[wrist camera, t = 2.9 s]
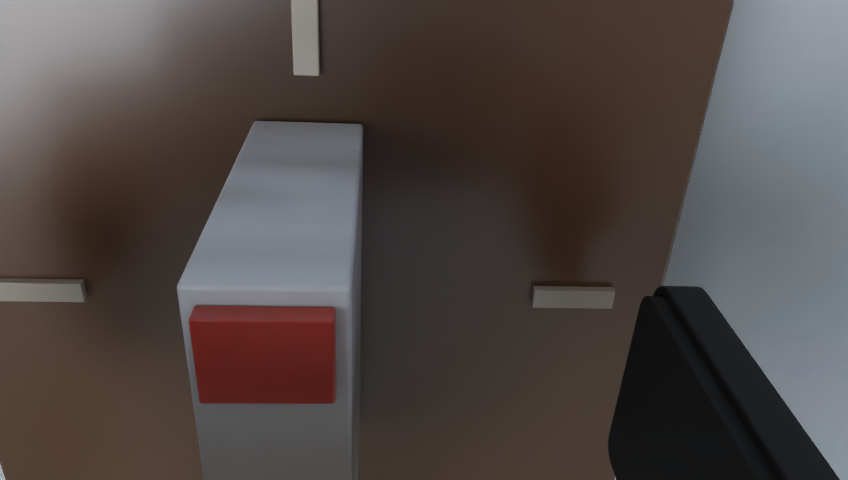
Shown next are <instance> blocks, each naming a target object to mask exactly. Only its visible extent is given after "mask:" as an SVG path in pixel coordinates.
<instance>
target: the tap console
mask: <svg viewBox="0 0 848 480" xmlns="http://www.w3.org/2000/svg"><path fill="white" fill-rule="evenodd" d="M733 3H734V0H0V463H1V466H2V470H3V473H4V476H5V479H6V480H203V473H202V466H201V459H200V452H199V445H198V437H197V430H196V423H195V416H194V409H193V401H192V394H191V387H190V380H189V373H188V366H187V358H186V351H185V344H184V337H183V330H182V322H181V315H180V308H179V301H178V294H177V285H178V283H179V280H180V278H181V276H182V274H183V272H184V270H185V268H186V265H187V263H188V261H189V259H190V257H191V255H192V253H193V251H194V248H195V246H196V244H197V242H198V240H199V238H200V236H201V233H202V231H203V229H204V227H205V225H206V223H207V221H208V219H209V216H210V214H211V212H212V210H213V208H214V206H215V204H216V201H217V199H218V197H219V195H220V193H221V191H222V189H223V187H224V184H225V182H226V180H227V178H228V176H229V174H230V172H231V169H232V167H233V165H234V163H235V161H236V159H237V157H238V155H239V152H240V150H241V148H242V146H243V144H244V142H245V140H246V138H247V135H248V133H249V131H250V129H251V127H252V125H253V123H254V122H255V121H276V122H310V123H343V124H360V125H362V127H363V187H362V294H361V401H360V448H359V475H358V480H614V478H615V474H614V471H613V469H612V466H611V463H610V459H609V453H608V437H609V432H610V428H611V424H612V420H613V416H614V411H615V407H616V403H617V399H618V395H619V391H620V386H621V382H622V378H623V374H624V370H625V365H626V361H627V357H628V353H629V349H630V345H631V340H632V336H633V332H634V328H635V324H636V320H637V315H638V311H639V307H640V304H641V301H642V299H643V298H644V297H645V296H653V294H654V292H655V290H656V289H657V288H658V287H660V286H663V282H664V278H665V274H666V270H667V266H668V262H669V258H670V254H671V250H672V246H673V242H674V238H675V234H676V230H677V226H678V222H679V218H680V214H681V210H682V206H683V202H684V198H685V194H686V191H687V187H688V183H689V179H690V175H691V171H692V167H693V163H694V159H695V155H696V151H697V147H698V143H699V139H700V135H701V131H702V127H703V123H704V119H705V115H706V111H707V107H708V103H709V99H710V95H711V91H712V87H713V83H714V79H715V75H716V71H717V67H718V63H719V59H720V55H721V51H722V47H723V43H724V39H725V35H726V31H727V27H728V23H729V19H730V15H731V11H732V7H733Z"/></svg>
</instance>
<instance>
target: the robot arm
mask: <svg viewBox="0 0 848 480" xmlns="http://www.w3.org/2000/svg"><path fill="white" fill-rule="evenodd" d="M608 453H609V459H610V463H611V466H612V469H613V471H614V474H615V477H616V480H840V479H839V478H838V476H837V475H836V474H835V472H834V471H833V469H832V468H831V467H830V465H829V464H828V462H827V461H826V460H825V458H824V457H823V455H822V454H821V453H820V451H819V450H818V448H817V447H816V446H815V444H814V443H813V441H812V440H811V439H810V437H809V436H808V434H807V433H806V432H805V430H804V429H803V427H802V426H801V425H800V423H799V422H798V420H797V419H796V418H795V416H794V415H793V413H792V412H791V411H790V409H789V408H788V406H787V405H786V404H785V402H784V401H783V399H782V398H781V396H780V395H779V394H778V392H777V391H776V389H775V388H774V387H773V385H772V384H771V382H770V381H769V380H768V378H767V377H766V375H765V374H764V373H763V371H762V370H761V368H760V367H759V366H758V364H757V363H756V361H755V360H754V359H753V357H752V356H751V354H750V353H749V352H748V350H747V349H746V347H745V346H744V345H743V343H742V342H741V340H740V339H739V338H738V336H737V335H736V333H735V332H734V331H733V329H732V328H731V326H730V325H729V324H728V322H727V321H726V319H725V318H724V317H723V315H722V314H721V312H720V311H719V309H718V308H717V307H716V305H715V304H714V302H713V301H712V300H711V298H710V297H709V295H708V294H707V293H706V291H705V290H704V289H703V288H701V287H686V286H660V287H658V288H657V289H656V290H655V292H654V294H653V296H645V297H644V298H643V299H642V301H641V304H640V307H639V311H638V315H637V320H636V324H635V328H634V332H633V336H632V340H631V345H630V349H629V353H628V357H627V361H626V365H625V370H624V374H623V378H622V382H621V386H620V391H619V395H618V399H617V403H616V407H615V411H614V416H613V420H612V424H611V428H610V432H609V437H608Z"/></svg>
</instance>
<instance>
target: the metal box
mask: <svg viewBox="0 0 848 480" xmlns="http://www.w3.org/2000/svg"><path fill="white" fill-rule="evenodd" d="M362 187H363V127H362V125H360V124H343V123H310V122H276V121H255V122H254V123H253V125H252V127H251V129H250V131H249V133H248V135H247V138H246V140H245V142H244V144H243V146H242V148H241V150H240V152H239V155H238V157H237V159H236V161H235V163H234V165H233V167H232V169H231V172H230V174H229V176H228V178H227V180H226V182H225V184H224V187H223V189H222V191H221V193H220V195H219V197H218V199H217V201H216V204H215V206H214V208H213V210H212V212H211V214H210V216H209V219H208V221H207V223H206V225H205V227H204V229H203V231H202V233H201V236H200V238H199V240H198V242H197V244H196V246H195V248H194V251H193V253H192V255H191V257H190V259H189V261H188V263H187V265H186V268H185V270H184V272H183V274H182V276H181V278H180V280H179V283H178V285H177V294H178V301H179V308H180V315H181V322H182V330H183V337H184V344H185V351H186V358H187V366H188V373H189V380H190V387H191V394H192V401H193V409H194V416H195V423H196V430H197V437H198V445H199V452H200V459H201V466H202V473H203V480H358V475H359V448H360V401H361V294H362Z"/></svg>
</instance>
